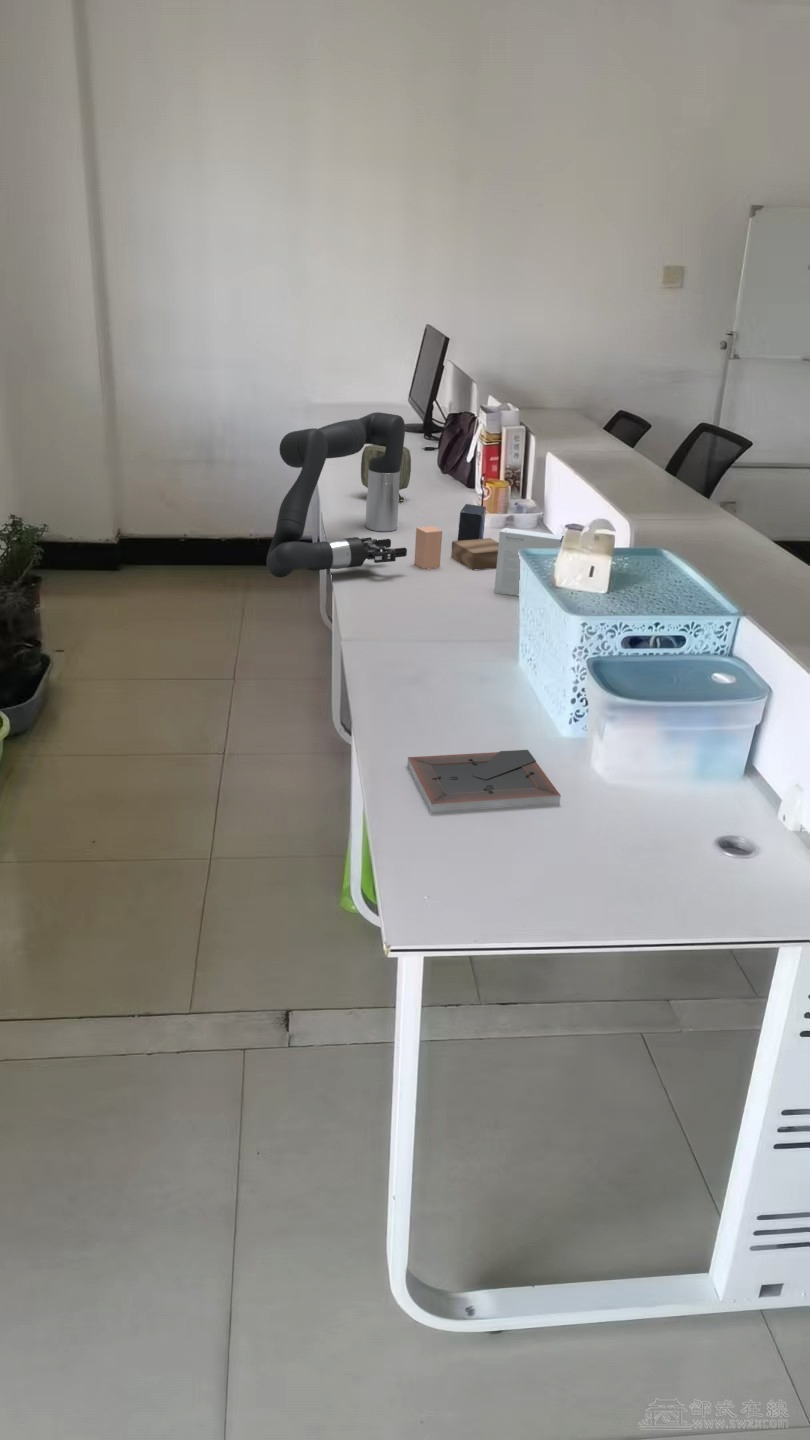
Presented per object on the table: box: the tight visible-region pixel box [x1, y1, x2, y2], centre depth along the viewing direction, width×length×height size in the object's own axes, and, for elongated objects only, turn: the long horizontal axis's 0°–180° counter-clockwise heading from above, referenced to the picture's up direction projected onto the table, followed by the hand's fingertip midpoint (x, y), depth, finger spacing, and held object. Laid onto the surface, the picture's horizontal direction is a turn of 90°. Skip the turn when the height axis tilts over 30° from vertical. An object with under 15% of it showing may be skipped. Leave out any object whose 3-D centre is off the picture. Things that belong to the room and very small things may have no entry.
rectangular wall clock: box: [406, 749, 562, 814], centre depth 184 cm, size 16×2×22 cm
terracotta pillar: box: [413, 525, 443, 570], centre depth 294 cm, size 5×5×10 cm
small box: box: [457, 503, 487, 541], centre depth 316 cm, size 11×6×10 cm, turn 168°
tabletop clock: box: [360, 444, 412, 500], centre depth 355 cm, size 14×9×25 cm, turn 58°
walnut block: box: [450, 537, 499, 571], centre depth 302 cm, size 12×12×5 cm
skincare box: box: [493, 527, 564, 597], centre depth 275 cm, size 21×5×16 cm, turn 71°
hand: (398, 547), depth 290 cm, fingers open, 8 cm apart
